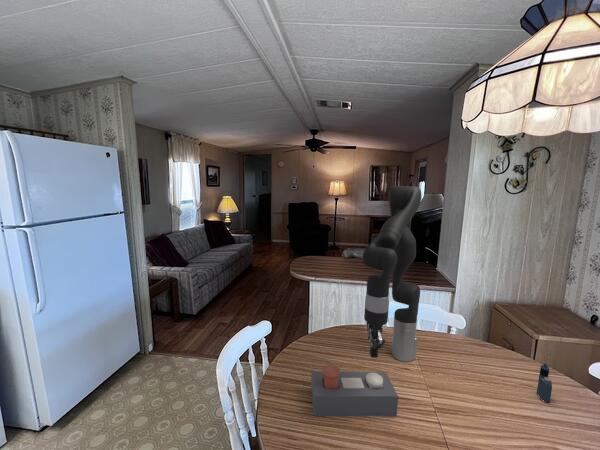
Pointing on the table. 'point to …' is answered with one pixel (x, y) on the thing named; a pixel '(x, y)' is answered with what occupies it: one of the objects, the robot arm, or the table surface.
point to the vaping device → (544, 384)
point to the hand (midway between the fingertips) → (373, 356)
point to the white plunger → (374, 381)
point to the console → (353, 396)
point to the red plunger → (330, 376)
